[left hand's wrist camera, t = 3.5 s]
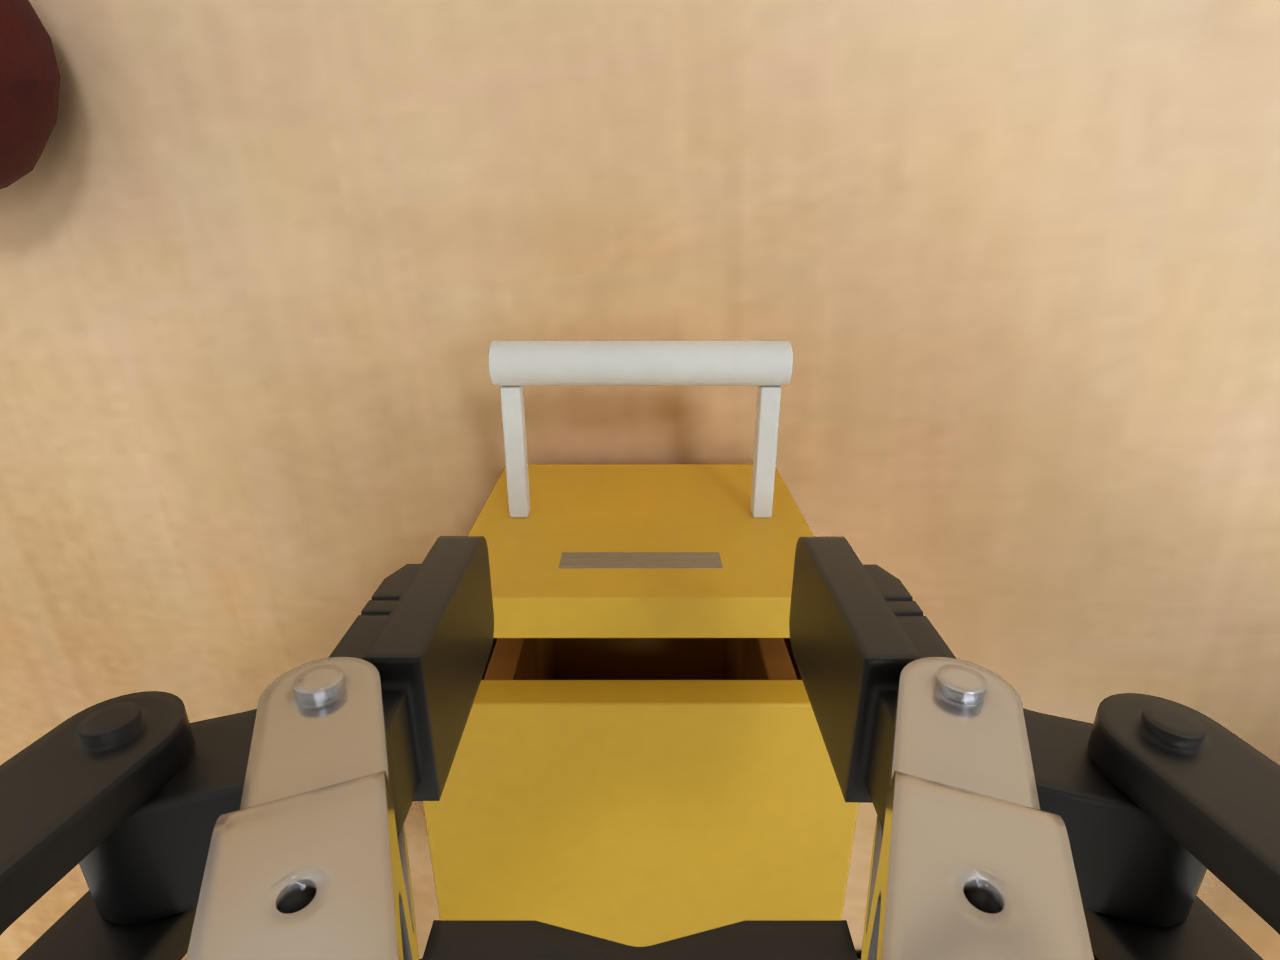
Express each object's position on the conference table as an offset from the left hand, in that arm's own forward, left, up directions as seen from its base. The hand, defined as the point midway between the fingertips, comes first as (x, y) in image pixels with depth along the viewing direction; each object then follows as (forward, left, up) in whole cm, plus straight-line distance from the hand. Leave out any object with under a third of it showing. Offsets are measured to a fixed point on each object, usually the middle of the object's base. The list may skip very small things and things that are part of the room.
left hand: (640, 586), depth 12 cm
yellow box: (-13, +6, -15) cm, 21 cm away
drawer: (-8, +4, -14) cm, 17 cm away
